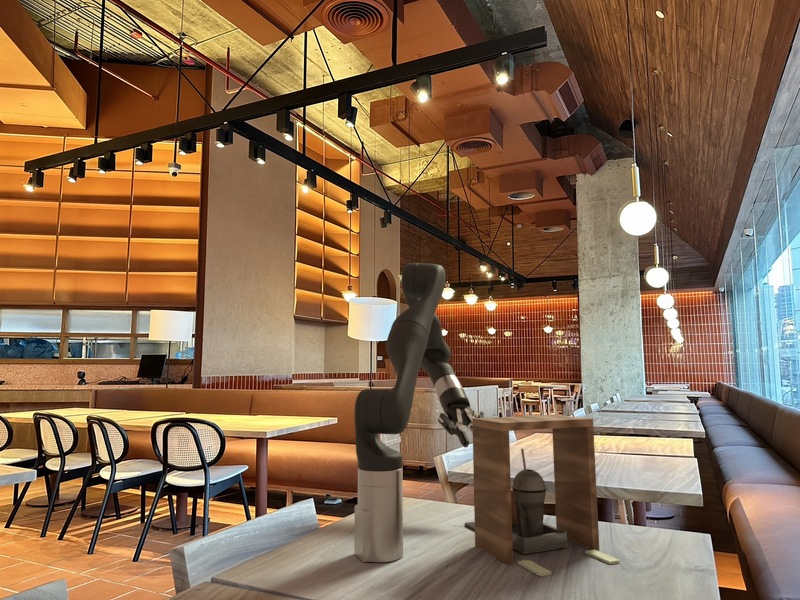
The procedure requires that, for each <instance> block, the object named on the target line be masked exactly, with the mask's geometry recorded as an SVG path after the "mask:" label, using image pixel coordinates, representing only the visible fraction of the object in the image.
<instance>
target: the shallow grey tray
mask: <svg viewBox="0 0 800 600" xmlns="http://www.w3.org/2000/svg"><path fill="white" fill-rule="evenodd" d="M511 510H512V543H513V549H514V550H516V551H517V552H520V554H521V553H522V554H523V555H526V554H527V555H528V554H534V553H540V552H547V551H553V550H561V549H566V548H567V549H568V539H567V532H564V531H562V530H560V529H557V528H556V526H555V527H554V526H552V525H550V524H547V523H544V522H543V534H542V535H535V536H527V537H524V536H522V535H520V534H519V531H518V522H517V513H516V504H515V499H514V495H513V490H512V487H511Z"/></svg>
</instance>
